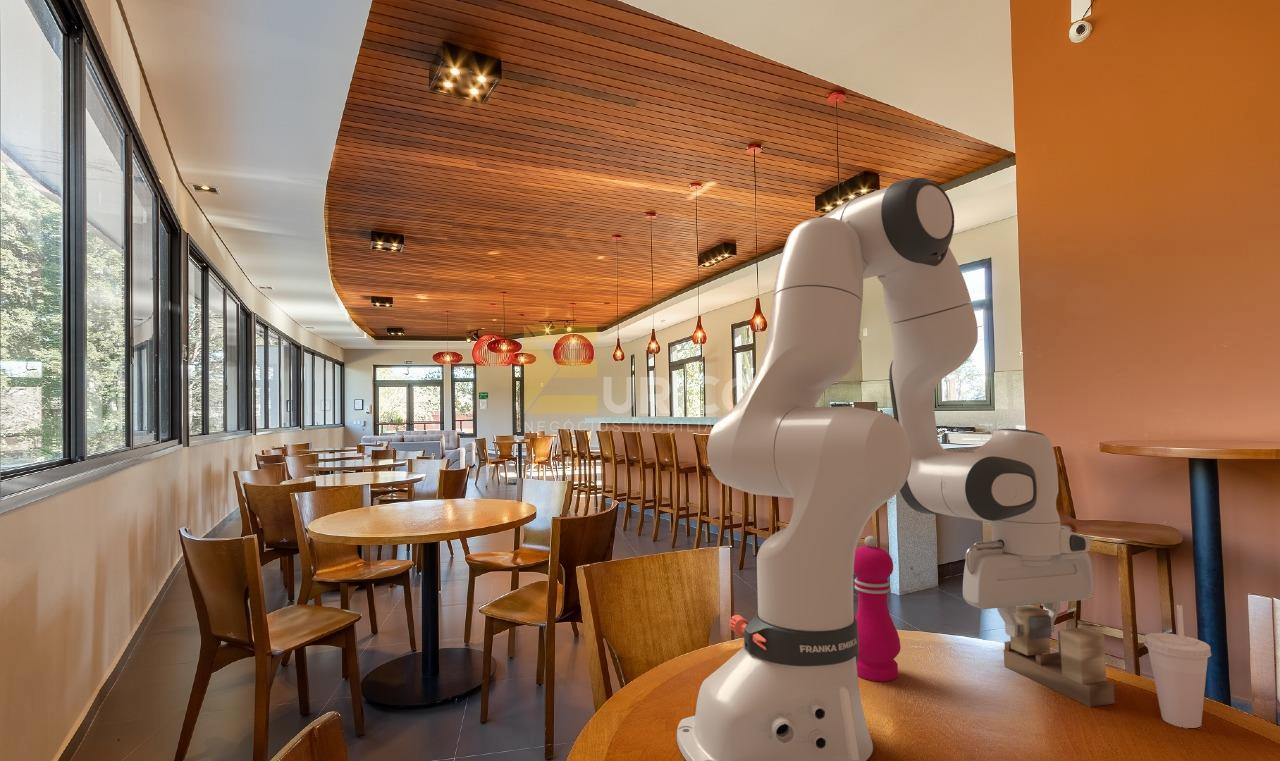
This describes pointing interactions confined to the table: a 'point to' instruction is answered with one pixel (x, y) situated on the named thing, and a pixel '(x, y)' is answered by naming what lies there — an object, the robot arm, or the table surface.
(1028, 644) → the grey-banded wooden block
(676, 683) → the table surface
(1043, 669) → the rail
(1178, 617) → the smoothie
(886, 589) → the pepper mill
